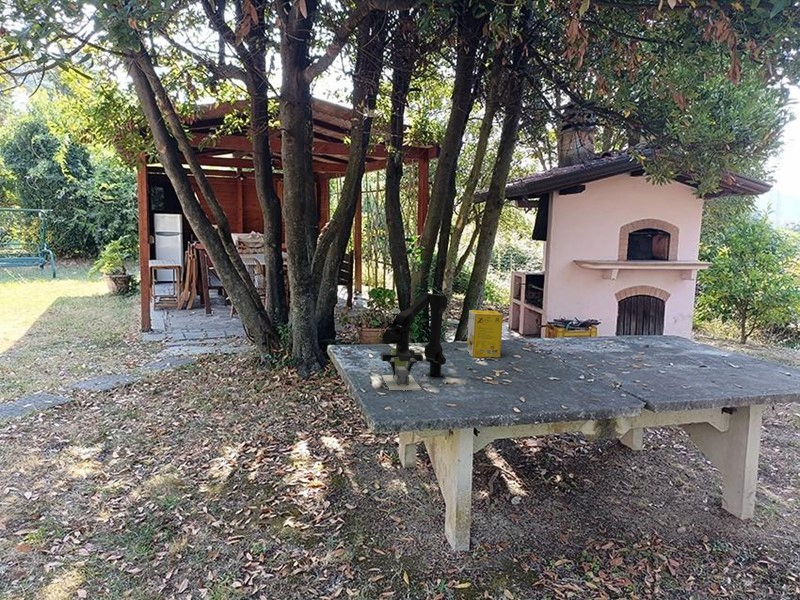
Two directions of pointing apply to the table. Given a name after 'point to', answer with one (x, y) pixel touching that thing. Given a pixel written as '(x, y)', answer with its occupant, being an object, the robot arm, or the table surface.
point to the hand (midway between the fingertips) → (401, 375)
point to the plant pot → (397, 361)
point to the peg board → (392, 385)
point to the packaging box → (484, 333)
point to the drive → (401, 374)
